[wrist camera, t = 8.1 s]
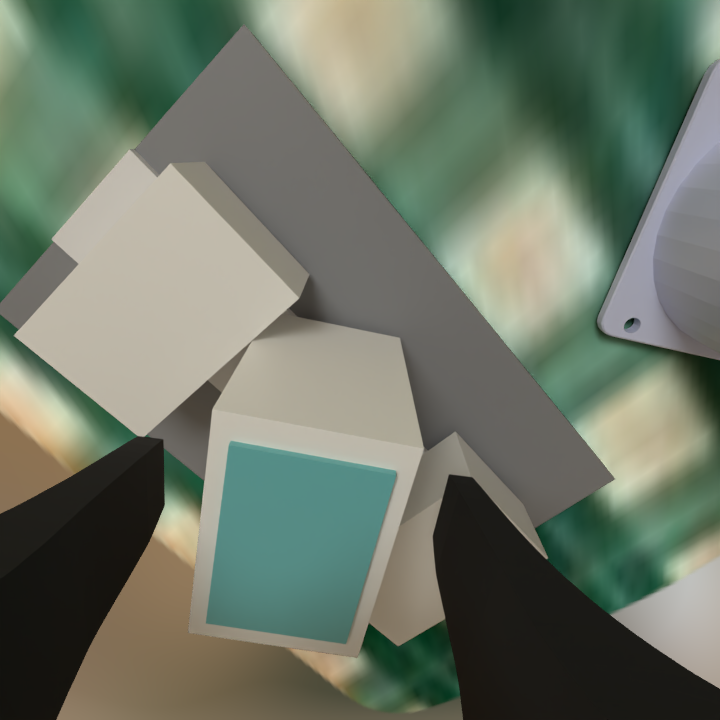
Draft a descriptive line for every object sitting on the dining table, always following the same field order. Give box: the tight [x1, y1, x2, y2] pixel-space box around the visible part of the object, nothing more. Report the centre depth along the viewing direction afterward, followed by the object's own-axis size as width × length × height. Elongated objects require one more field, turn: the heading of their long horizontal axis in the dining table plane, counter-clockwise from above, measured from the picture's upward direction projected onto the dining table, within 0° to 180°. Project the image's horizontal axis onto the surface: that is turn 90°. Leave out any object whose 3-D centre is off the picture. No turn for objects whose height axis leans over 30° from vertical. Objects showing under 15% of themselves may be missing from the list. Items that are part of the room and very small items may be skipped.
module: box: [188, 314, 424, 658], centre depth 13 cm, size 4×6×6 cm, turn 168°
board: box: [0, 25, 614, 646], centre depth 15 cm, size 18×11×4 cm, turn 41°
